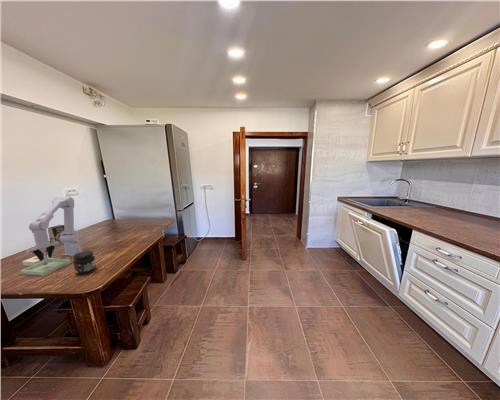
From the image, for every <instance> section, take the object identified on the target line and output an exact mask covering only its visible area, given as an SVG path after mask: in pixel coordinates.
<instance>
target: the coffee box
mask: <svg viewBox="0 0 500 400" xmlns="http://www.w3.org/2000/svg"><path fill="white" fill-rule="evenodd" d="M63 231H64V224H57V225H54V226H50V227H49V226H48V228H47V234H48V239H49V243H52V242H56V241H57V242H59V244H58V245H54V246H55V247H58V246H59V247H60V246H62V245H64V244H63V243H62V242H60V236H61V233H62V232H63Z"/></svg>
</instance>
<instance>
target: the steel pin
mask: <svg viewBox="0 0 500 400" xmlns="http://www.w3.org/2000/svg"><path fill="white" fill-rule="evenodd" d="M48 253H49V251H48V250H42V259H43V261H42V265H47V264H48V258H47V255H48Z"/></svg>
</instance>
